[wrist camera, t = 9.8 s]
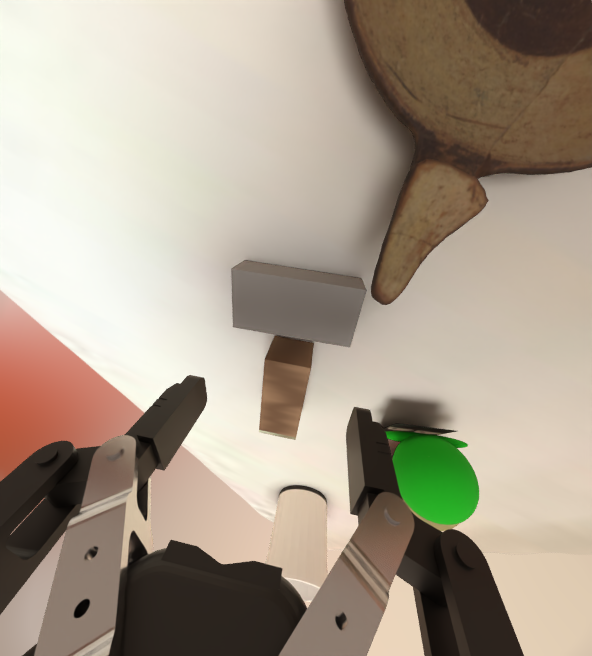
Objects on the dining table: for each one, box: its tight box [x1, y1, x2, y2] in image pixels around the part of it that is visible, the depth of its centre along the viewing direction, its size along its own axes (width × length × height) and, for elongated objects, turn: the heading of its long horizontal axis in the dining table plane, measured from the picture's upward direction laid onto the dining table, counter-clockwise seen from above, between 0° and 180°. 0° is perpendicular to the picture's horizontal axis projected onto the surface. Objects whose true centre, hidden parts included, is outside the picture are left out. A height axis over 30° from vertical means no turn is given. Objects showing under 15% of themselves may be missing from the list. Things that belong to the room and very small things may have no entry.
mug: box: [265, 486, 328, 602], centre depth 33 cm, size 11×9×10 cm
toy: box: [383, 424, 479, 531], centre depth 24 cm, size 8×8×15 cm
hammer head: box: [231, 260, 367, 347], centre depth 18 cm, size 10×5×3 cm, turn 83°
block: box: [259, 336, 314, 440], centre depth 23 cm, size 4×4×10 cm
